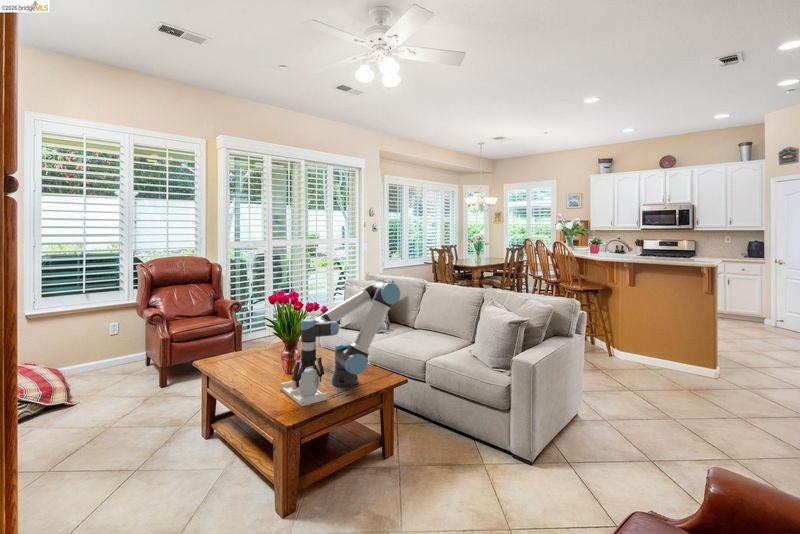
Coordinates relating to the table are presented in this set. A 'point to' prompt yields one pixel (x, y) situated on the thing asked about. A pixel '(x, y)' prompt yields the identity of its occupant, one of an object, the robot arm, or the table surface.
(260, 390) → the table surface
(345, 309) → the robot arm
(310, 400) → the tray
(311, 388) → the supplement box
